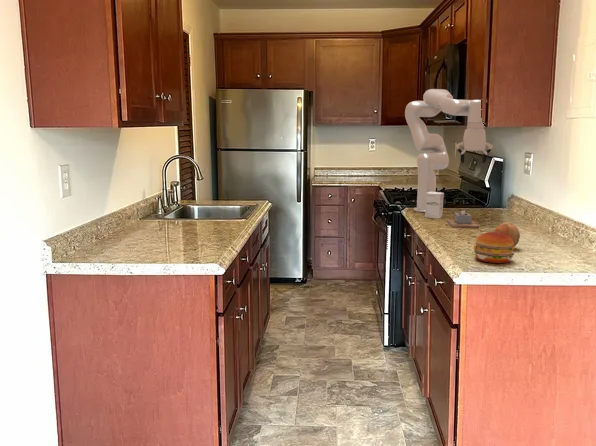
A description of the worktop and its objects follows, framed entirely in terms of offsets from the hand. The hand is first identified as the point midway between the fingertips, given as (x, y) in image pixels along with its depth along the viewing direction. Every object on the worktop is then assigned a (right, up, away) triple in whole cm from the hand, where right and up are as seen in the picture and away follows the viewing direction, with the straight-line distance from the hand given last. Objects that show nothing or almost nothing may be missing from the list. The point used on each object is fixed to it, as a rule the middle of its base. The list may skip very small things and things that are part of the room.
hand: (473, 162), depth 263 cm
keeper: (-7, -30, -5) cm, 31 cm away
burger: (-16, -42, -71) cm, 84 cm away
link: (-7, -29, -5) cm, 30 cm away
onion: (-4, -39, -53) cm, 66 cm away
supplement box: (-15, -26, +15) cm, 34 cm away
